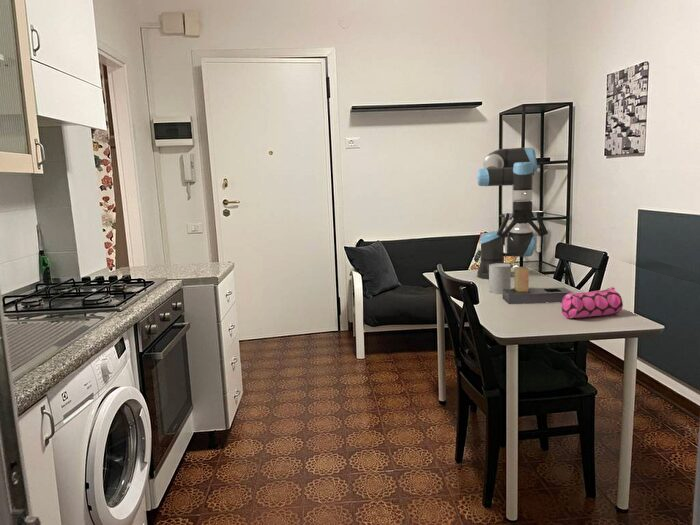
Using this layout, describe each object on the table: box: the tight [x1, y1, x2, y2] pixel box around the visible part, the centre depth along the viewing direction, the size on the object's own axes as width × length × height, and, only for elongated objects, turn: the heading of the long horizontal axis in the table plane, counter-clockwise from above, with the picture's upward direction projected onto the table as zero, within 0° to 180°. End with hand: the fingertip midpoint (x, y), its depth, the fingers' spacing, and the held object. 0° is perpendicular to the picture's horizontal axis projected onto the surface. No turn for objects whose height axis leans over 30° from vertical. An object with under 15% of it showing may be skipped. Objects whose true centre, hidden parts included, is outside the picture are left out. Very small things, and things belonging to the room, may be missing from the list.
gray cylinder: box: [488, 262, 512, 295], centre depth 241 cm, size 10×10×12 cm
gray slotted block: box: [502, 286, 574, 305], centre depth 223 cm, size 10×26×4 cm, turn 88°
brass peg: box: [513, 266, 530, 293], centre depth 223 cm, size 4×4×14 cm
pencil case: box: [561, 286, 624, 320], centre depth 197 cm, size 21×10×10 cm, turn 108°
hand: (521, 252), depth 221 cm, fingers open, 13 cm apart
